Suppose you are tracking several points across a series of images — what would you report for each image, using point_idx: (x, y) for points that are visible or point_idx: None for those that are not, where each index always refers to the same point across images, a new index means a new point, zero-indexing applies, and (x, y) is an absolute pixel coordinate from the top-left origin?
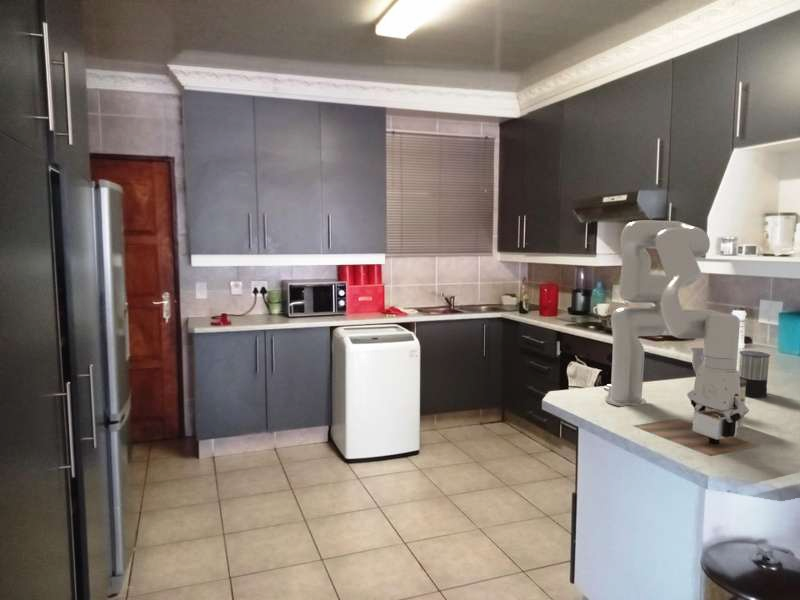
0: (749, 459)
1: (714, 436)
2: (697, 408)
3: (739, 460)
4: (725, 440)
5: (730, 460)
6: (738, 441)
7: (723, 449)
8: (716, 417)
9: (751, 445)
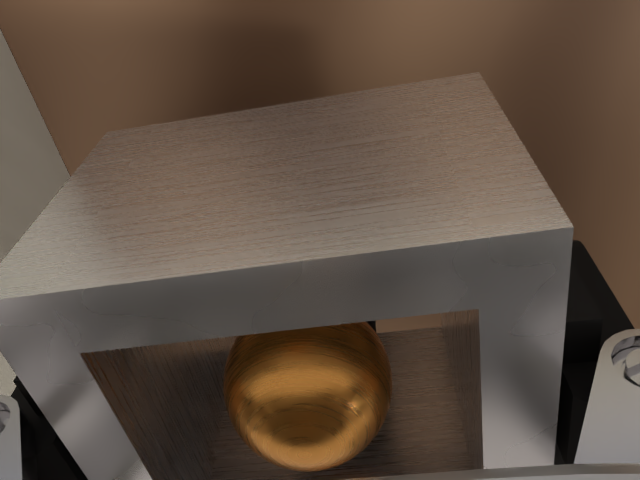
0: None
1: (139, 137)
2: (634, 394)
3: (33, 170)
4: None
5: (27, 95)
6: None
7: None
8: (247, 401)
9: None
